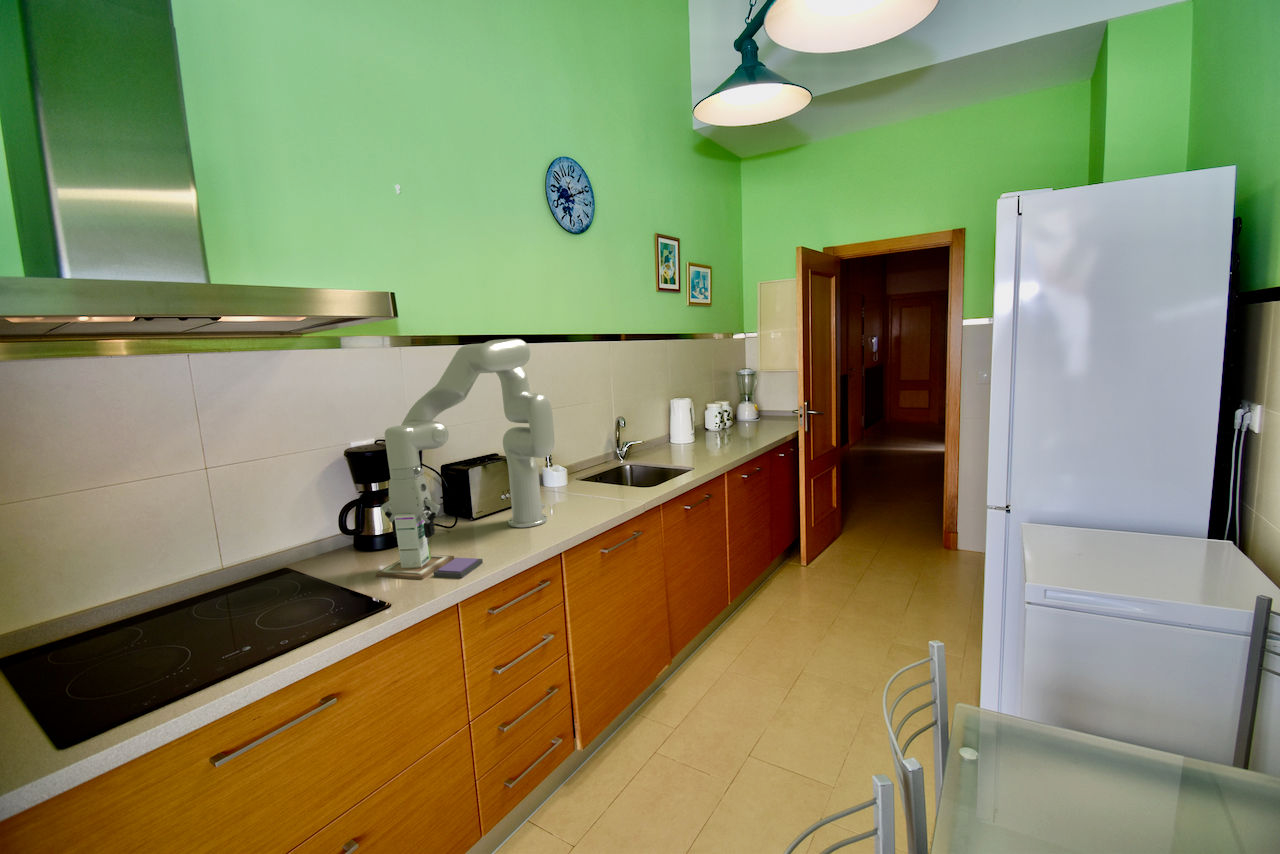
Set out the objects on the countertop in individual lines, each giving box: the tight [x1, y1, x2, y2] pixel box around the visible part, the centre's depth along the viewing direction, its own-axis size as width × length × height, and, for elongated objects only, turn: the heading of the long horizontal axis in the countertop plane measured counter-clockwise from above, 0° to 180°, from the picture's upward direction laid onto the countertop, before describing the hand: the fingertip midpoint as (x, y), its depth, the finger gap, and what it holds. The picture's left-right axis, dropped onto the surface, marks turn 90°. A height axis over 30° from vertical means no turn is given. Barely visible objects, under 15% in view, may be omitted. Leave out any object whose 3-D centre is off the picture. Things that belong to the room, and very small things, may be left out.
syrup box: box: [394, 514, 431, 568], centre depth 148 cm, size 6×6×14 cm
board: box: [374, 554, 455, 580], centre depth 149 cm, size 14×14×1 cm
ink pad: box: [433, 557, 483, 579], centre depth 146 cm, size 8×10×2 cm
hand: (414, 535), depth 148 cm, fingers open, 9 cm apart
